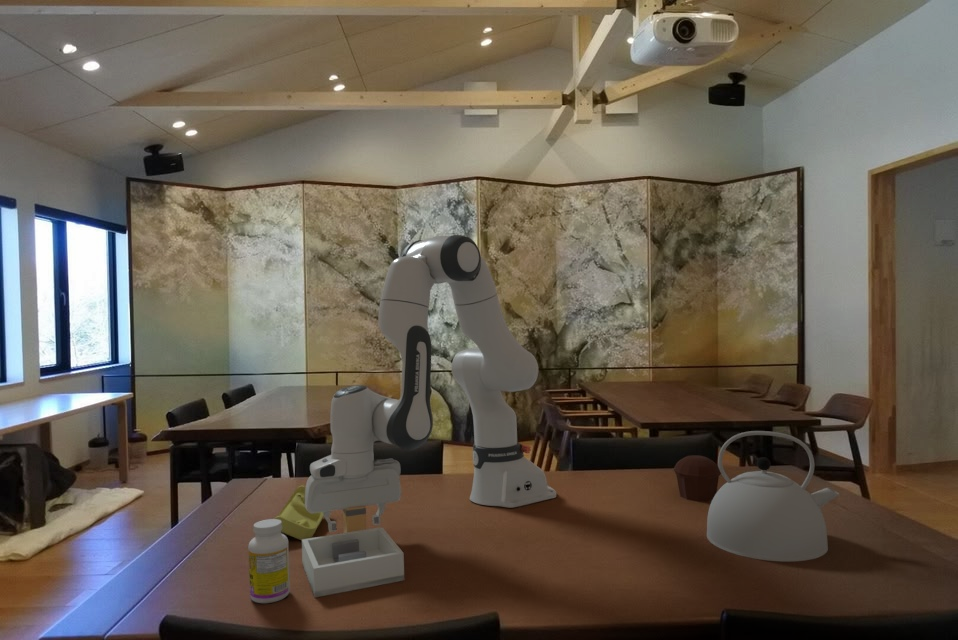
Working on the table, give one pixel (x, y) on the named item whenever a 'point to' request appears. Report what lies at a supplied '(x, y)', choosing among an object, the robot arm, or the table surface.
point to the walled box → (351, 561)
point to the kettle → (768, 512)
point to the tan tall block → (354, 519)
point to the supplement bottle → (268, 562)
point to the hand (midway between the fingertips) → (354, 527)
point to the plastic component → (299, 517)
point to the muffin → (697, 478)
